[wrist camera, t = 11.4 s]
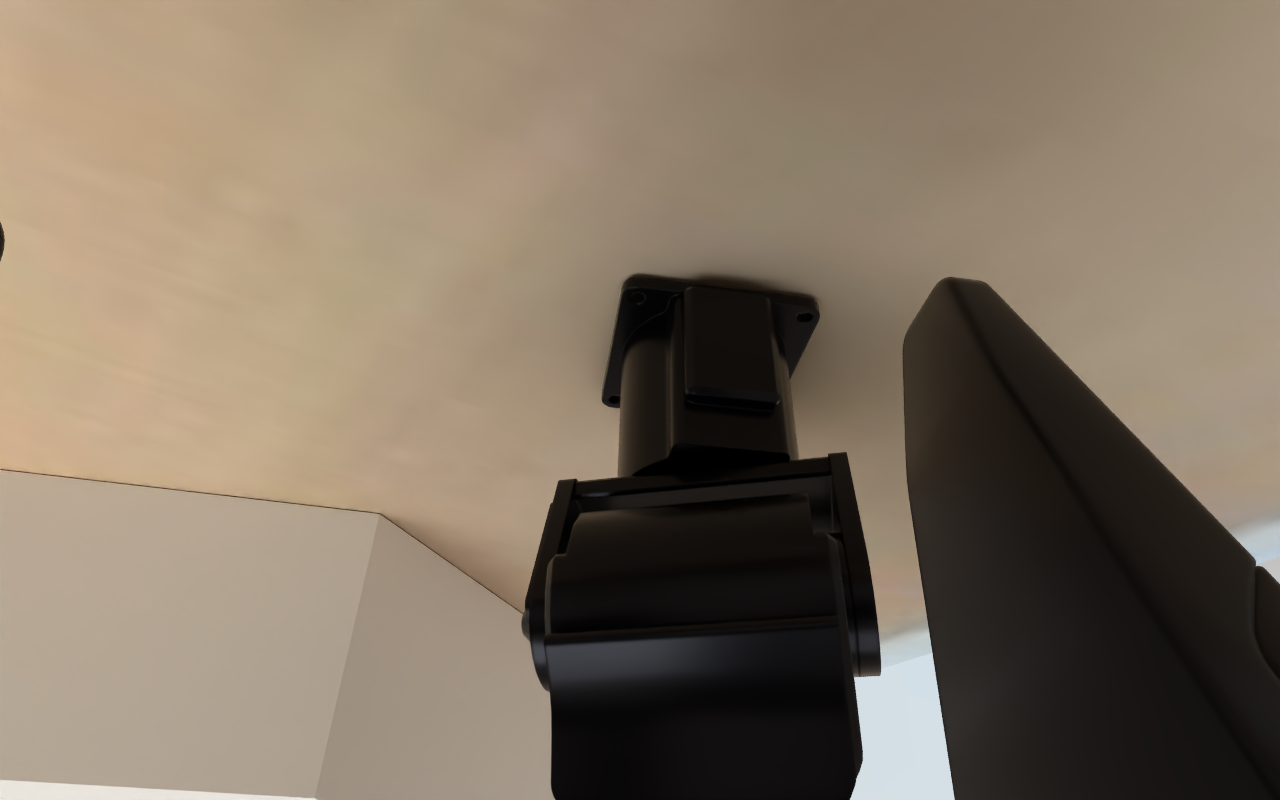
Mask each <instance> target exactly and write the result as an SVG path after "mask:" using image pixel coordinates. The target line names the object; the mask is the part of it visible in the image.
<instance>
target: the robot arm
mask: <svg viewBox="0 0 1280 800" xmlns="http://www.w3.org/2000/svg"><path fill="white" fill-rule="evenodd" d="M4 241H5V239H4V231H3V228H2V225H1V223H0V261H1V258H2V255H3V250H4ZM635 292H639V293H642V294H633V293H635ZM802 312H807V313H804V314H800V313H802ZM819 317H820V312H819V306H818V304H817V302H816V301H815V300H813V299H810V298H804V297H796V296H787V295H779V294H771V293H762V292H754V291H745V290H737V289H729V288H720V287H712V286H704V285H695V284H687V283H678V282H670V281H662V280H653V279H645V278H632V279H629V280H627V281H626V282H624V284H623V286H622V289H621V294H620V299H619V305H618V310H617V315H616V320H615V326H614V331H613V336H612V341H611V346H610V352H609V357H608V362H607V367H606V372H605V378H604V383H603V388H602V402H603V403H604V404H605V405H607V406H609V407H613V408H620V425H619V453H618V477H617V478H607V479H597V480H587V481H578V480H577V479H568V480H559V481H558V485H557V488H556V492H555V496H554V500H553V503H551V505H550V508H549V512H548V515H547V519H546V523H545V527H544V531H543V534H542V538H541V542H540V546H539V550H538V553H537V557H536V561H535V565H534V569H533V573H532V576H531V580H530V584H529V588H528V592H527V595H526V600H525V612H524V614H523V616H522V621H521V627H522V633H523V635H524V636H525V637H526V638H527V639H528V640H529V641H530V645H531V652H532V658H533V662H534V667H535V671H536V674H537V676H538V679H539V681H540V683H541V685H542V686H543V688H544V689H545V690H546V691H548V692H549V693H550V703H551V790H552V794H553V796H554V798H555V800H850V798H851V795H852V792H853V789H854V787H855V783H856V778H857V775H858V773H859V771H860V768H861V764H862V761H863V756H862V755H863V750H862V741H861V733H860V724H859V716H858V707H857V699H856V690H855V682H854V677H858V676H859V677H866V676H880V674H881V655H880V642H879V632H878V623H877V614H876V606H875V598H874V591H873V585H872V578H871V572H870V566H869V560H868V555H867V550H866V545H865V540H864V535H863V530H862V525H861V520H860V516H859V511H858V506H857V501H856V496H855V491H854V486H853V481H852V477H851V472H850V467H849V462H848V457H847V452H842V453H831V454H828V457H822V458H811V459H801V460H799V454H798V446H797V438H796V429H795V421H794V412H793V404H792V396H791V387H790V378H791V376H792V374H793V372H794V370H795V368H796V366H797V364H798V362H799V360H800V358H801V355H802V353H803V351H804V349H805V347H806V345H807V343H808V341H809V339H810V337H811V335H812V333H813V331H814V329H815V327H816V325H817V323H818V321H819ZM903 382H904V416H905V450H906V472H907V485H908V493H909V501H910V508H911V514H912V521H913V527H914V534H915V540H916V547H917V554H918V560H919V567H920V573H921V580H922V587H923V593H924V600H925V606H926V613H927V619H928V626H929V633H930V639H931V646H932V652H933V659H934V665H935V672H936V679H937V685H938V692H939V698H940V705H941V712H942V718H943V725H944V731H945V738H946V744H947V751H948V758H949V764H950V771H951V777H952V783H953V790H954V797H955V800H1280V584H1279V583H1278V582H1277V581H1276V580H1275V579H1274V578H1273V577H1272V576H1271V575H1270V574H1269V572H1268V571H1267V570H1266V569H1265V568H1263V567H1261V566H1256V561H1255V559H1254V557H1253V556H1252V555H1251V554H1250V553H1249V552H1248V551H1247V550H1246V549H1245V548H1244V547H1243V546H1242V545H1241V544H1240V543H1239V542H1238V541H1237V540H1236V539H1235V538H1234V537H1233V536H1232V535H1231V534H1230V533H1229V532H1228V531H1227V530H1226V529H1225V528H1224V526H1223V525H1222V524H1221V523H1220V522H1219V521H1218V520H1217V519H1216V518H1215V517H1214V516H1213V515H1212V514H1211V513H1210V512H1209V511H1208V510H1207V509H1206V508H1205V507H1204V506H1203V505H1202V504H1201V503H1200V502H1199V501H1198V500H1197V499H1196V498H1195V497H1194V496H1193V495H1192V494H1191V493H1190V492H1189V490H1188V489H1187V488H1186V487H1185V486H1184V485H1183V484H1182V483H1181V482H1180V481H1179V480H1178V479H1177V478H1176V477H1175V476H1174V475H1173V474H1172V473H1171V472H1170V471H1169V470H1168V469H1167V468H1166V467H1165V466H1164V465H1163V464H1162V463H1161V462H1160V461H1159V460H1158V459H1157V458H1156V457H1155V455H1154V454H1153V453H1152V452H1151V451H1150V450H1149V449H1148V448H1147V447H1146V446H1145V445H1144V444H1143V443H1142V442H1141V441H1140V440H1139V439H1138V438H1137V437H1136V436H1135V435H1134V434H1133V433H1132V432H1131V431H1130V430H1129V429H1128V428H1127V427H1126V426H1125V425H1124V424H1123V423H1122V422H1121V421H1120V419H1119V418H1118V417H1117V416H1116V415H1115V414H1114V413H1113V412H1112V411H1111V410H1110V409H1109V408H1108V407H1107V406H1106V405H1105V404H1104V403H1103V402H1102V401H1101V400H1100V399H1099V398H1098V397H1097V396H1096V395H1095V394H1094V393H1093V392H1092V391H1091V390H1090V389H1089V388H1088V387H1087V386H1086V384H1085V383H1084V382H1083V381H1082V380H1081V379H1080V378H1079V377H1078V376H1077V375H1076V374H1075V373H1074V372H1073V371H1072V370H1071V369H1070V368H1069V367H1068V366H1067V365H1066V364H1065V363H1064V362H1063V361H1062V360H1061V359H1060V358H1059V357H1058V356H1057V355H1056V354H1055V353H1054V352H1053V351H1052V350H1051V348H1050V347H1049V346H1048V345H1047V344H1046V343H1045V342H1044V341H1043V340H1042V339H1041V338H1040V337H1039V336H1038V335H1037V334H1036V333H1035V332H1034V331H1033V330H1032V329H1031V328H1030V327H1029V326H1028V325H1027V324H1026V323H1025V322H1024V321H1023V320H1022V319H1021V318H1020V317H1019V316H1018V315H1017V313H1016V312H1015V311H1014V310H1013V309H1012V308H1011V307H1010V306H1009V305H1008V304H1007V303H1006V302H1005V301H1004V300H1003V299H1002V298H1001V297H1000V296H999V295H998V294H997V293H996V292H995V291H994V290H993V289H992V288H991V287H990V286H989V285H988V284H986V283H985V282H982V281H979V280H972V279H964V278H956V277H947V278H944V279H942V280H941V281H939V282H938V283H937V284H936V286H935V287H934V288H933V290H932V292H931V293H930V295H929V296H928V298H927V300H926V301H925V303H924V304H923V306H922V308H921V309H920V311H919V312H918V314H917V316H916V317H915V319H914V320H913V322H912V324H911V325H910V327H909V329H908V331H907V333H906V336H905V339H904V344H903Z"/></svg>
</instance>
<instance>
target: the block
mask: <svg viewBox="0 0 1280 800" xmlns="http://www.w3.org/2000/svg"><path fill="white" fill-rule="evenodd" d="M522 616H523V614H522V613H520V612H519V611H517V610H516V609H514V608H513V607H512V606H510V605H509V604H507V603H506V602H504V601H503V600H502V599H500V598H499V597H497V596H496V595H494V594H493V593H492V592H490V591H489V590H487V589H486V588H484V587H483V586H482V585H480V584H479V583H477V582H476V581H475V580H473V579H472V578H470V577H469V576H467V575H466V574H465V573H463V572H462V571H460V570H459V569H457V568H456V567H455V566H453V565H452V564H450V563H449V562H447V561H446V560H445V559H443V558H442V557H440V556H439V555H437V554H436V553H435V552H433V551H432V550H430V549H429V548H427V547H426V546H425V545H423V544H422V543H420V542H419V541H417V540H416V539H415V538H413V537H412V536H410V535H409V534H407V533H406V532H405V531H403V530H402V529H400V528H399V527H397V526H396V525H395V524H393V523H392V522H390V521H389V520H387V519H386V518H385V517H383V516H382V515H380V514H376V513H367V512H358V511H350V510H341V509H333V508H324V507H315V506H307V505H298V504H289V503H281V502H272V501H264V500H255V499H246V498H238V497H229V496H221V495H212V494H203V493H195V492H186V491H177V490H169V489H160V488H152V487H143V486H134V485H126V484H117V483H108V482H100V481H91V480H83V479H74V478H65V477H57V476H48V475H39V474H31V473H22V472H14V471H5V470H0V800H555V798H554V796H553V794H552V790H551V703H550V693H549V692H548V691H546V690H545V689H544V688H543V686H542V685H541V683H540V681H539V679H538V676H537V674H536V671H535V667H534V662H533V658H532V652H531V645H530V641H529V640H528V639H527V638H526V637H525V636H524V635H523V633H522V627H521V621H522Z"/></svg>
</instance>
